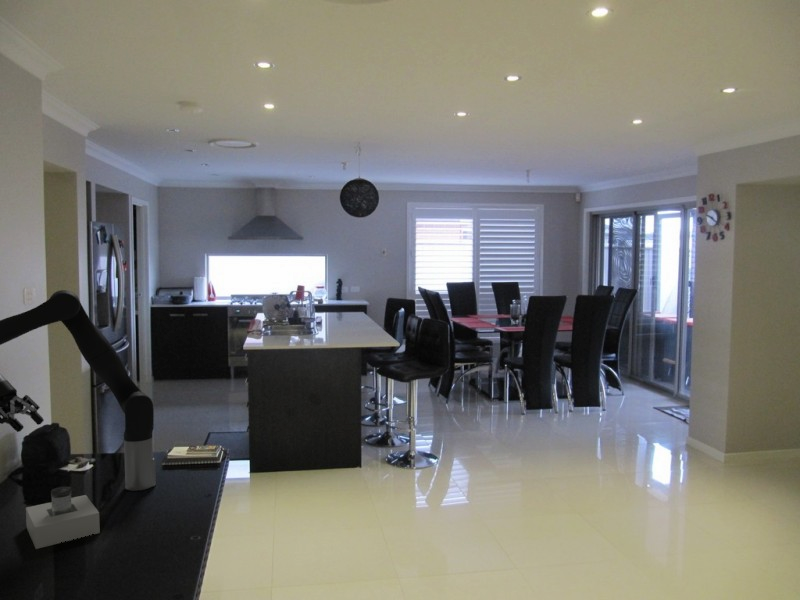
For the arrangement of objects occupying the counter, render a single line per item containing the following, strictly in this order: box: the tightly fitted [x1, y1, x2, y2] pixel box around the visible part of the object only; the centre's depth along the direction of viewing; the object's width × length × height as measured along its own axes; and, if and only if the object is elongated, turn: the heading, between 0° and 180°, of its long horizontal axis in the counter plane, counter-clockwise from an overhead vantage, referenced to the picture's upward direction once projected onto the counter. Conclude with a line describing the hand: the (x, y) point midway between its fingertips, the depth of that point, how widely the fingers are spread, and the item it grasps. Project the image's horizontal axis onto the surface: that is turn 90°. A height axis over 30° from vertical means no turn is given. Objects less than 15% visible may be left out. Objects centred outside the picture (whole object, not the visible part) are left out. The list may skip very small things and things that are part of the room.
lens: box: [50, 486, 72, 516], centre depth 177 cm, size 5×5×10 cm
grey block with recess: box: [25, 494, 101, 550], centre depth 177 cm, size 16×18×6 cm
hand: (31, 426), depth 185 cm, fingers open, 8 cm apart
